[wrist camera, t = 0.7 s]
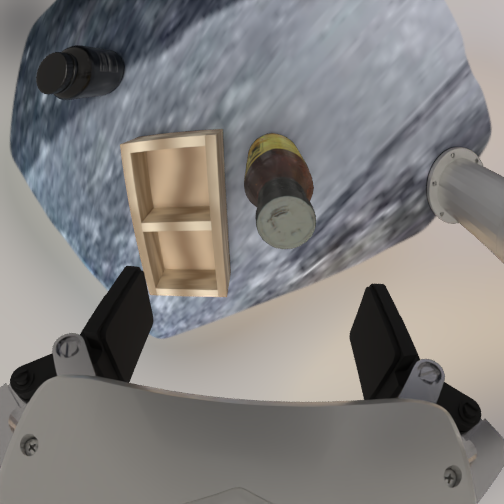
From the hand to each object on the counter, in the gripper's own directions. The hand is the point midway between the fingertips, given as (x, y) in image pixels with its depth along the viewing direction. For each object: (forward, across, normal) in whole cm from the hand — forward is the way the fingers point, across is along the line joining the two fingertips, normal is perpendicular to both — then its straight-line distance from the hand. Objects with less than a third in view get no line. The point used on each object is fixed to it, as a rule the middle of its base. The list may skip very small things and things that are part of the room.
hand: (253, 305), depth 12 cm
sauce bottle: (+28, -1, 0) cm, 28 cm away
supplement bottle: (+28, +22, -13) cm, 38 cm away
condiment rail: (+28, +10, +7) cm, 30 cm away
